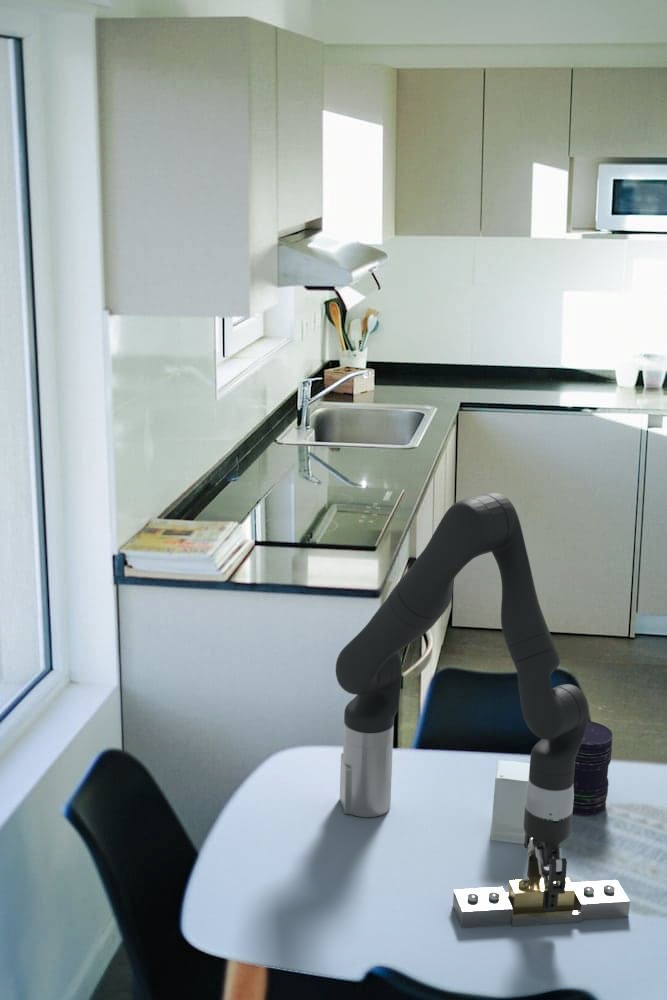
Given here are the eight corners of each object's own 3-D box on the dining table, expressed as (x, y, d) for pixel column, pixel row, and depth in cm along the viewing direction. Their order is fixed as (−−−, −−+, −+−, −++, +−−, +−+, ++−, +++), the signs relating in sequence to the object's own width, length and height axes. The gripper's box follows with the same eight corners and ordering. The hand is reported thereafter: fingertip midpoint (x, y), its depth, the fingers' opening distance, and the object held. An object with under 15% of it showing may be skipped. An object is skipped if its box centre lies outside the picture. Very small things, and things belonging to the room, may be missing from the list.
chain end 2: (546, 924, 201) (548, 904, 200) (534, 898, 208) (535, 879, 207) (629, 918, 203) (631, 899, 202) (614, 893, 210) (616, 875, 209)
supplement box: (531, 846, 223) (536, 782, 220) (489, 840, 225) (494, 777, 221) (533, 824, 230) (538, 763, 227) (493, 819, 231) (497, 758, 228)
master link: (512, 919, 202) (515, 889, 201) (507, 906, 206) (509, 877, 204) (572, 916, 203) (575, 886, 202) (566, 903, 207) (568, 874, 205)
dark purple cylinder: (614, 799, 240) (621, 729, 235) (595, 822, 232) (602, 749, 227) (565, 784, 245) (571, 715, 240) (545, 806, 237) (551, 734, 232)
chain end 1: (462, 929, 199) (463, 910, 198) (452, 903, 206) (453, 884, 205) (546, 924, 201) (548, 904, 200) (534, 898, 208) (535, 879, 207)
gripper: (513, 784, 205) (507, 870, 210) (539, 830, 191) (532, 921, 196) (557, 782, 206) (550, 868, 211) (586, 827, 193) (578, 918, 197)
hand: (541, 893), depth 203 cm, fingers open, 8 cm apart
